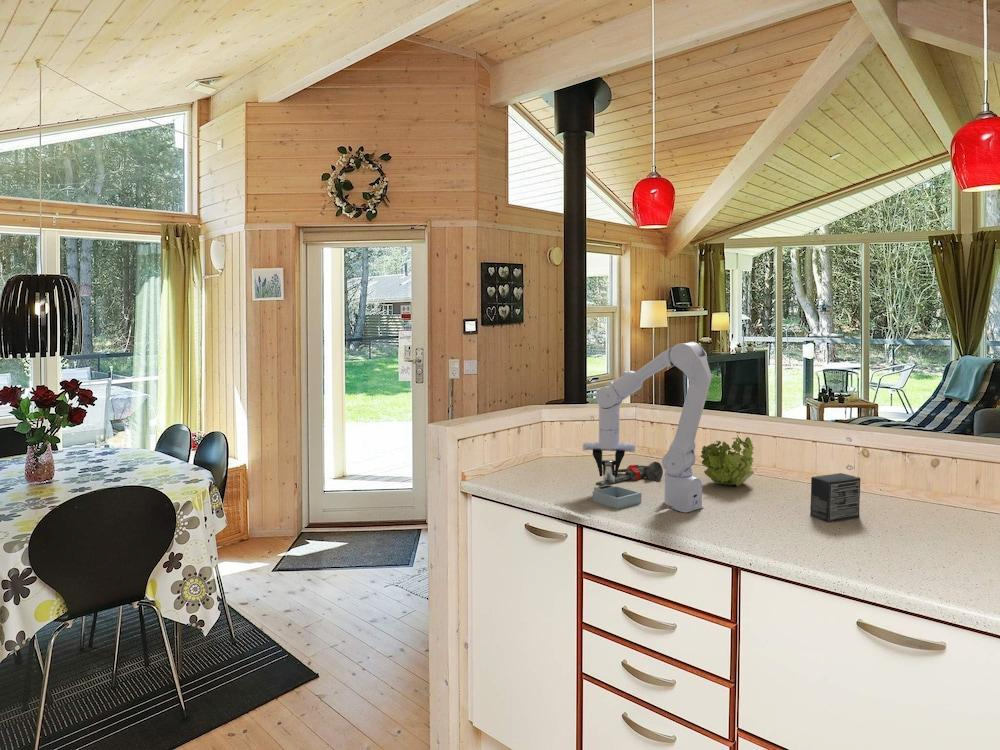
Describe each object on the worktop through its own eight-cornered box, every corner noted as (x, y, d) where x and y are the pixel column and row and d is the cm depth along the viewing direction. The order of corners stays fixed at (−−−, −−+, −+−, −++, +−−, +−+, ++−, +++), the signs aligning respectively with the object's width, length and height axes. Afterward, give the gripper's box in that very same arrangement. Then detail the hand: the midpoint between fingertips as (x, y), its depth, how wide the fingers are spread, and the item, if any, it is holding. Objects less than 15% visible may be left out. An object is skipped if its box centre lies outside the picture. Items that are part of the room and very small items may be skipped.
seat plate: (623, 495, 193) (623, 488, 193) (608, 499, 190) (608, 492, 189) (607, 490, 198) (607, 484, 198) (593, 494, 194) (593, 487, 194)
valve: (636, 475, 224) (672, 478, 212) (578, 492, 209) (613, 496, 197) (634, 456, 224) (669, 458, 212) (576, 471, 209) (610, 474, 197)
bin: (641, 505, 184) (641, 492, 183) (617, 511, 178) (617, 498, 178) (616, 497, 191) (616, 485, 191) (592, 503, 185) (592, 491, 185)
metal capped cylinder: (618, 481, 193) (618, 460, 193) (609, 483, 191) (609, 462, 190) (607, 479, 196) (607, 459, 196) (599, 481, 194) (599, 461, 193)
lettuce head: (762, 479, 192) (718, 441, 194) (725, 507, 202) (683, 471, 203) (772, 447, 206) (731, 412, 208) (737, 475, 216) (698, 441, 217)
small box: (839, 511, 178) (841, 471, 177) (860, 518, 172) (862, 477, 171) (808, 515, 174) (810, 475, 173) (828, 523, 168) (830, 481, 167)
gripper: (635, 427, 194) (634, 473, 196) (584, 425, 197) (584, 471, 199) (634, 431, 187) (634, 479, 189) (582, 429, 191) (581, 477, 192)
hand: (608, 475), depth 193 cm, fingers closed on metal capped cylinder, 4 cm apart
